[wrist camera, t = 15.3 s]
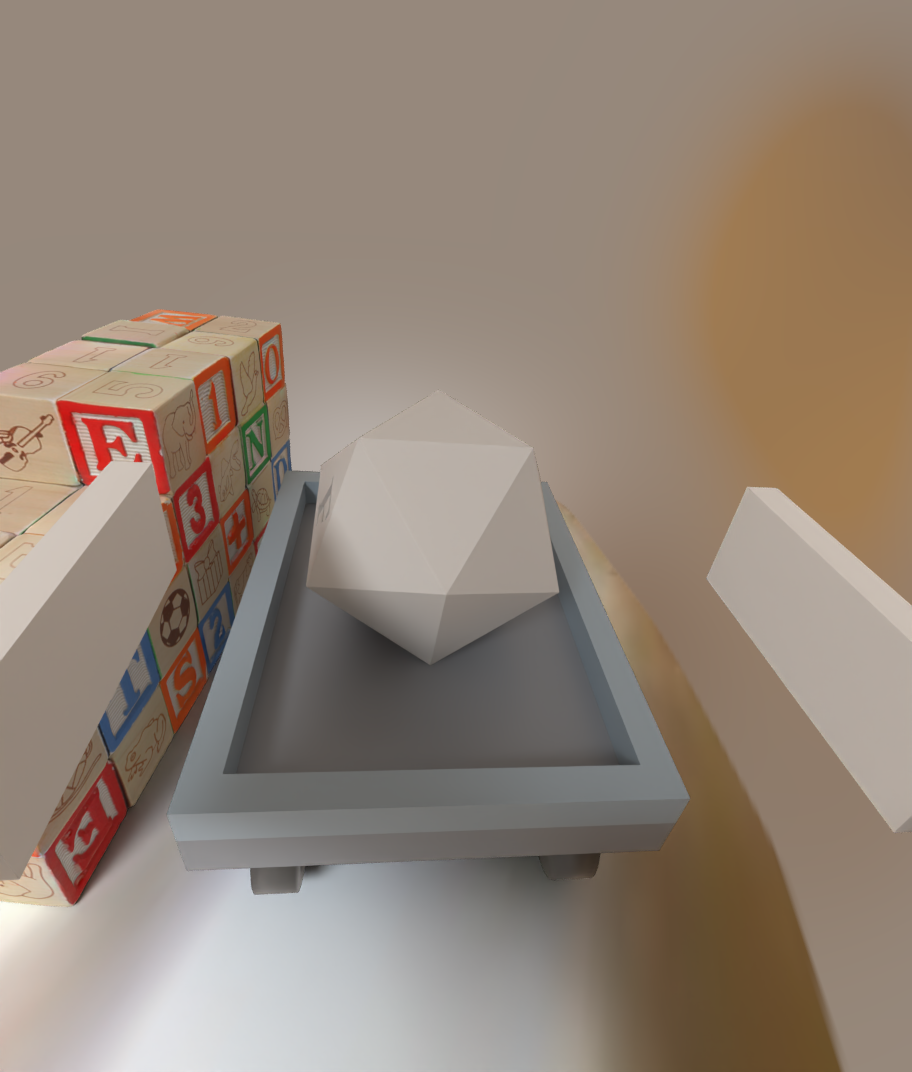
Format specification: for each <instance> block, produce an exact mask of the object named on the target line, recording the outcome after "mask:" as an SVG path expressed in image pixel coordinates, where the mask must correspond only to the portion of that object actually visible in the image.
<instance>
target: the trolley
mask: <svg viewBox="0 0 912 1072" xmlns="http://www.w3.org/2000/svg"><path fill="white" fill-rule="evenodd" d="M319 480H320V472H310V471H289V470H286V472H285V475H284V478H283V481H282V484H281V487H280V490H279V492H278V495H277V498H276V501H275V504H274V507H273V510H272V513H271V515H270V518H269V521H268V524H267V527H266V530H265V533H264V536H263V539H262V541H261V544H260V547H259V550H258V553H257V556H256V559H255V562H254V564H253V567H252V570H251V573H250V576H249V579H248V582H247V585H246V587H245V590H244V593H243V596H242V599H241V602H240V605H239V608H238V610H237V613H236V616H235V619H234V622H233V625H232V628H231V631H230V634H229V636H228V639H227V642H226V645H225V648H224V651H223V654H222V657H221V659H220V662H219V665H218V668H217V671H216V674H215V677H214V680H213V682H212V685H211V688H210V691H209V694H208V697H207V700H206V703H205V706H204V708H203V711H202V714H201V717H200V720H199V723H198V726H197V729H196V731H195V734H194V737H193V740H192V743H191V746H190V749H189V752H188V754H187V757H186V760H185V763H184V766H183V769H182V772H181V775H180V778H179V780H178V783H177V786H176V789H175V792H174V795H173V798H172V801H171V803H170V806H169V809H168V812H167V817H168V820H169V823H170V826H171V828H172V831H173V834H174V837H175V840H176V842H177V845H178V848H179V851H180V853H181V856H182V859H183V862H184V864H185V867H186V870H187V871H195V870H218V869H241V868H250V873H251V886H252V890H253V893H254V894H255V895H259V894H280V893H298V892H299V890H300V888H301V884H302V880H303V875H304V869H305V866H311V865H334V864H357V863H380V862H404V861H427V860H450V859H473V858H496V857H519V856H539V859H540V862H541V865H542V868H543V870H544V872H545V874H546V875H547V877H548V878H549V879H551V880H565V879H585V878H592V877H593V876H594V875H595V873H596V871H597V868H598V865H599V859H600V853H612V852H635V851H658V850H660V848H661V847H662V845H663V843H664V842H665V840H666V838H667V837H668V835H669V833H670V832H671V830H672V828H673V827H674V825H675V823H676V822H677V820H678V818H679V817H680V815H681V813H682V812H683V810H684V808H685V807H686V805H687V803H688V802H689V800H690V797H689V795H688V792H687V790H686V788H685V786H684V783H683V781H682V779H681V777H680V775H679V772H678V770H677V768H676V766H675V764H674V761H673V759H672V757H671V755H670V753H669V750H668V748H667V746H666V744H665V742H664V739H663V737H662V735H661V733H660V730H659V728H658V726H657V724H656V722H655V719H654V717H653V715H652V713H651V711H650V708H649V706H648V704H647V702H646V700H645V697H644V695H643V693H642V691H641V689H640V686H639V684H638V682H637V680H636V677H635V675H634V673H633V671H632V669H631V666H630V664H629V662H628V660H627V658H626V655H625V653H624V651H623V649H622V647H621V644H620V642H619V640H618V638H617V636H616V633H615V631H614V629H613V627H612V624H611V622H610V620H609V618H608V616H607V613H606V611H605V609H604V607H603V605H602V602H601V600H600V598H599V596H598V594H597V591H596V589H595V587H594V585H593V583H592V580H591V578H590V576H589V574H588V571H587V569H586V567H585V565H584V563H583V560H582V558H581V556H580V554H579V552H578V549H577V547H576V545H575V543H574V541H573V538H572V536H571V534H570V532H569V530H568V527H567V525H566V523H565V521H564V518H563V516H562V514H561V512H560V510H559V507H558V505H557V503H556V501H555V499H554V496H553V494H552V492H551V490H550V488H549V485H548V483H547V482H541V486H542V492H543V498H544V504H545V510H546V515H547V521H548V527H549V533H550V539H551V545H552V551H553V557H554V563H555V569H556V575H557V581H558V587H559V593H557V594H555V595H554V596H552V597H550V598H548V599H547V600H545V601H543V602H541V603H540V604H538V605H536V606H534V607H533V608H531V609H529V610H527V611H525V612H524V613H522V614H520V615H518V616H517V617H515V618H513V619H511V620H510V621H508V622H506V623H504V624H503V625H501V626H499V627H497V628H495V629H494V630H492V631H490V632H488V633H487V634H485V635H483V636H481V637H480V638H478V639H476V640H474V641H473V642H471V643H469V644H467V645H465V646H464V647H462V648H460V649H458V650H457V651H455V652H453V653H451V654H450V655H448V656H446V657H444V658H443V659H441V660H439V661H437V662H435V663H434V664H432V665H429V664H427V663H426V662H424V661H423V660H421V659H420V658H418V657H416V656H415V655H413V654H412V653H410V652H409V651H407V650H405V649H404V648H402V647H401V646H399V645H397V644H396V643H394V642H393V641H391V640H390V639H388V638H386V637H385V636H383V635H382V634H380V633H379V632H377V631H375V630H374V629H372V628H371V627H369V626H367V625H366V624H364V623H363V622H361V621H360V620H358V619H356V618H355V617H353V616H352V615H350V614H349V613H347V612H345V611H344V610H342V609H341V608H339V607H338V606H336V605H334V604H333V603H331V602H330V601H328V600H326V599H325V598H323V597H322V596H320V595H319V594H317V593H315V592H314V591H312V590H311V589H309V588H308V587H306V582H307V574H308V566H309V559H310V551H311V543H312V535H313V527H314V519H315V511H316V503H317V495H318V487H319Z"/></svg>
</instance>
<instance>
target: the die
mask: <svg viewBox="0 0 912 1072" xmlns="http://www.w3.org/2000/svg"><path fill="white" fill-rule="evenodd" d="M306 587H308V588H309V589H311V590H312V591H314V592H315V593H317V594H319V595H320V596H322V597H323V598H325V599H326V600H328V601H330V602H331V603H333V604H334V605H336V606H338V607H339V608H341V609H342V610H344V611H345V612H347V613H349V614H350V615H352V616H353V617H355V618H356V619H358V620H360V621H361V622H363V623H364V624H366V625H367V626H369V627H371V628H372V629H374V630H375V631H377V632H379V633H380V634H382V635H383V636H385V637H386V638H388V639H390V640H391V641H393V642H394V643H396V644H397V645H399V646H401V647H402V648H404V649H405V650H407V651H409V652H410V653H412V654H413V655H415V656H416V657H418V658H420V659H421V660H423V661H424V662H426V663H427V664H429V665H432V664H434V663H435V662H437V661H439V660H441V659H443V658H444V657H446V656H448V655H450V654H451V653H453V652H455V651H457V650H458V649H460V648H462V647H464V646H465V645H467V644H469V643H471V642H473V641H474V640H476V639H478V638H480V637H481V636H483V635H485V634H487V633H488V632H490V631H492V630H494V629H495V628H497V627H499V626H501V625H503V624H504V623H506V622H508V621H510V620H511V619H513V618H515V617H517V616H518V615H520V614H522V613H524V612H525V611H527V610H529V609H531V608H533V607H534V606H536V605H538V604H540V603H541V602H543V601H545V600H547V599H548V598H550V597H552V596H554V595H555V594H557V593H559V587H558V581H557V575H556V569H555V563H554V557H553V551H552V545H551V539H550V533H549V527H548V521H547V515H546V510H545V504H544V498H543V492H542V486H541V480H540V474H539V470H538V466H537V461H536V457H535V453H534V449H533V447H531V446H530V445H528V444H526V443H525V442H523V441H522V440H520V439H518V438H517V437H515V436H513V435H512V434H510V433H509V432H507V431H505V430H504V429H502V428H501V427H499V426H497V425H496V424H494V423H492V422H491V421H489V420H487V419H486V418H484V417H483V416H481V415H479V414H478V413H476V412H475V411H473V410H471V409H470V408H468V407H467V406H465V405H463V404H462V403H460V402H458V401H457V400H455V399H454V398H452V397H450V396H449V395H447V394H445V393H444V392H442V391H441V390H437V391H435V392H434V393H432V394H431V395H429V396H427V397H426V398H424V399H422V400H421V401H419V402H417V403H416V404H414V405H412V406H411V407H409V408H408V409H406V410H404V411H402V412H401V413H399V414H397V415H396V416H394V417H392V418H391V419H389V420H388V421H386V422H384V423H382V424H381V425H379V426H378V427H376V428H374V429H373V430H371V431H369V432H367V433H366V434H364V435H362V436H361V437H359V438H358V439H356V440H355V441H354V442H352V443H351V444H350V445H348V446H347V447H345V448H344V449H343V450H341V451H340V452H338V453H337V454H336V455H334V456H333V457H332V458H330V459H329V460H328V461H326V462H325V463H323V464H322V465H321V472H320V480H319V487H318V495H317V503H316V511H315V519H314V527H313V535H312V543H311V551H310V559H309V566H308V574H307V582H306Z"/></svg>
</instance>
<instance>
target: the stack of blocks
mask: <svg viewBox="0 0 912 1072" xmlns="http://www.w3.org/2000/svg"><path fill="white" fill-rule="evenodd" d="M282 346H283V345H282V331H281V325H280V323H276V322H267V321H260V320H252V319H244V318H236V317H229V316H220V317H217V316H215V315H209V314H199V313H189V312H179V311H170V310H154V311H152V312H150V313H147V314H145V315H142V316H140V317H137V318H134V319H132V320H129V321H127V320H119V321H116V322H113V323H111V324H109V325H106V326H104V327H101V328H98V329H96V330H94V331H91V332H88V333H86V334H84V335H82V340H75V341H72V342H69V343H67V344H64V345H62V346H60V347H58V348H55V349H52V350H50V351H48V352H46V353H43V354H41V355H39V356H36V357H34V358H31V359H30V360H29V361H28V363H21V364H19V365H17V366H14V367H12V368H9V369H7V370H4V371H2V372H0V584H1V583H2V582H3V581H4V580H5V579H6V578H7V577H8V575H9V574H10V573H11V572H12V571H13V570H14V569H15V568H16V566H17V565H18V564H19V563H20V562H21V561H22V560H23V559H24V558H25V556H26V555H27V554H28V553H29V552H30V551H31V550H32V549H33V548H34V546H35V545H36V544H37V543H38V542H39V541H40V540H41V539H42V538H43V536H44V535H45V534H46V533H47V532H48V531H49V530H50V529H51V527H52V526H53V525H54V524H55V523H56V522H57V521H58V520H59V519H60V517H61V516H62V515H63V514H64V513H65V512H66V511H67V510H68V509H69V507H70V506H71V505H72V504H73V503H74V502H75V501H76V500H77V499H78V497H79V496H80V495H81V494H82V493H83V492H84V491H85V490H86V488H87V487H88V486H89V485H90V484H91V483H92V482H93V481H94V480H95V478H96V477H97V476H98V475H99V474H100V473H101V472H102V471H103V470H104V468H105V467H106V466H107V465H108V464H109V463H110V462H111V461H119V462H144V463H152V466H153V471H154V475H155V479H156V484H157V488H158V492H159V496H160V501H161V505H162V509H163V513H164V518H165V522H166V526H167V530H168V535H169V539H170V543H171V548H172V552H173V556H174V560H175V565H176V569H177V571H176V573H175V575H174V577H173V578H172V580H171V582H170V584H169V586H168V588H167V590H166V592H165V594H164V596H163V598H162V600H161V602H160V604H159V606H158V608H157V610H156V612H155V614H154V616H153V618H152V620H151V622H150V624H149V626H148V628H147V630H146V632H145V634H144V636H143V638H142V640H141V641H140V643H139V645H138V647H137V649H136V651H135V653H134V655H133V657H132V659H131V661H130V663H129V665H128V667H127V669H126V671H125V673H124V675H123V677H122V679H121V681H120V683H119V685H118V687H117V689H116V691H115V693H114V695H113V697H112V699H111V701H110V703H109V704H108V706H107V708H106V710H105V712H104V714H103V716H102V718H101V720H100V722H99V724H98V726H97V728H96V730H95V732H94V734H93V736H92V738H91V740H90V742H89V744H88V746H87V748H86V750H85V752H84V754H83V756H82V758H81V760H80V762H79V764H78V766H77V767H76V769H75V771H74V773H73V775H72V777H71V779H70V781H69V783H68V785H67V787H66V789H65V791H64V793H63V795H62V797H61V799H60V801H59V803H58V805H57V807H56V809H55V811H54V813H53V815H52V817H51V819H50V821H49V823H48V825H47V827H46V829H45V831H44V832H43V834H42V836H41V838H40V840H39V842H38V844H37V846H36V848H35V850H34V852H33V854H32V856H31V858H30V860H29V862H28V864H27V866H26V868H25V870H24V872H23V874H22V876H21V878H20V880H3V881H0V901H5V902H14V903H24V904H33V905H44V906H62V907H70V906H74V904H75V903H76V901H77V900H78V898H79V897H80V895H81V893H82V891H83V889H84V887H85V886H86V884H87V882H88V880H89V878H90V877H91V875H92V873H93V872H94V870H95V868H96V866H97V864H98V863H99V861H100V859H101V857H102V856H103V854H104V852H105V850H106V849H107V847H108V845H109V843H110V841H111V840H112V838H113V836H114V835H115V833H116V831H117V829H118V827H119V825H120V823H121V822H122V820H123V819H124V817H125V816H126V812H127V809H128V808H130V807H132V806H133V805H134V804H135V803H136V802H137V800H138V798H139V796H140V795H141V793H142V791H143V789H144V788H145V786H146V784H147V783H148V781H149V779H150V778H151V776H152V774H153V772H154V771H155V769H156V767H157V765H158V764H159V762H160V760H161V758H162V757H163V755H164V753H165V752H166V750H167V748H168V746H169V744H170V742H171V741H172V738H173V735H174V734H175V733H176V732H177V731H178V729H179V727H180V726H181V724H182V723H183V721H184V719H185V718H186V716H187V714H188V712H189V711H190V709H191V707H192V706H193V704H194V702H195V701H196V699H197V697H198V696H199V694H200V692H201V690H202V689H203V687H204V685H205V684H206V682H207V680H208V674H209V673H210V672H211V670H212V668H213V667H214V665H215V663H216V661H217V660H218V658H219V656H220V655H221V653H222V651H223V649H224V648H225V645H226V642H227V639H228V636H229V634H230V631H231V628H232V625H233V622H234V619H235V616H236V613H237V610H238V608H239V605H240V602H241V599H242V596H243V593H244V590H245V587H246V585H247V582H248V579H249V576H250V573H251V570H252V567H253V564H254V562H255V559H256V556H257V553H258V550H259V547H260V544H261V541H262V539H263V536H264V533H265V530H266V527H267V524H268V521H269V518H270V515H271V513H272V510H273V507H274V504H275V501H276V498H277V495H278V492H279V490H280V487H281V484H282V481H283V478H284V475H285V472H286V470H289V471H292V469H291V459H290V440H289V435H290V430H289V415H288V400H287V390H286V383H285V382H284V381H285V380H284V379H285V375H284V358H283V347H282Z"/></svg>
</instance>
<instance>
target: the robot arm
mask: <svg viewBox="0 0 912 1072" xmlns="http://www.w3.org/2000/svg"><path fill="white" fill-rule="evenodd" d="M176 571H177V569H176V565H175V560H174V556H173V552H172V548H171V543H170V539H169V535H168V530H167V526H166V522H165V518H164V513H163V509H162V505H161V501H160V496H159V492H158V488H157V484H156V479H155V475H154V471H153V466H152V463H144V462H119V461H111V462H110V463H109V464H108V465H107V466H106V467H105V468H104V470H103V471H102V472H101V473H100V474H99V475H98V476H97V477H96V478H95V480H94V481H93V482H92V483H91V484H90V485H89V486H88V487H87V488H86V490H85V491H84V492H83V493H82V494H81V495H80V496H79V497H78V499H77V500H76V501H75V502H74V503H73V504H72V505H71V506H70V507H69V509H68V510H67V511H66V512H65V513H64V514H63V515H62V516H61V517H60V519H59V520H58V521H57V522H56V523H55V524H54V525H53V526H52V527H51V529H50V530H49V531H48V532H47V533H46V534H45V535H44V536H43V538H42V539H41V540H40V541H39V542H38V543H37V544H36V545H35V546H34V548H33V549H32V550H31V551H30V552H29V553H28V554H27V555H26V556H25V558H24V559H23V560H22V561H21V562H20V563H19V564H18V565H17V566H16V568H15V569H14V570H13V571H12V572H11V573H10V574H9V575H8V577H7V578H6V579H5V580H4V581H3V582H2V583H1V584H0V881H3V880H20V878H21V876H22V874H23V872H24V870H25V868H26V866H27V864H28V862H29V860H30V858H31V856H32V854H33V852H34V850H35V848H36V846H37V844H38V842H39V840H40V838H41V836H42V834H43V832H44V831H45V829H46V827H47V825H48V823H49V821H50V819H51V817H52V815H53V813H54V811H55V809H56V807H57V805H58V803H59V801H60V799H61V797H62V795H63V793H64V791H65V789H66V787H67V785H68V783H69V781H70V779H71V777H72V775H73V773H74V771H75V769H76V767H77V766H78V764H79V762H80V760H81V758H82V756H83V754H84V752H85V750H86V748H87V746H88V744H89V742H90V740H91V738H92V736H93V734H94V732H95V730H96V728H97V726H98V724H99V722H100V720H101V718H102V716H103V714H104V712H105V710H106V708H107V706H108V704H109V703H110V701H111V699H112V697H113V695H114V693H115V691H116V689H117V687H118V685H119V683H120V681H121V679H122V677H123V675H124V673H125V671H126V669H127V667H128V665H129V663H130V661H131V659H132V657H133V655H134V653H135V651H136V649H137V647H138V645H139V643H140V641H141V640H142V638H143V636H144V634H145V632H146V630H147V628H148V626H149V624H150V622H151V620H152V618H153V616H154V614H155V612H156V610H157V608H158V606H159V604H160V602H161V600H162V598H163V596H164V594H165V592H166V590H167V588H168V586H169V584H170V582H171V580H172V578H173V577H174V575H175V573H176ZM706 579H707V580H708V582H709V583H710V584H711V586H712V587H713V589H714V590H715V591H716V593H717V594H718V595H719V597H720V598H721V599H722V601H723V602H724V603H725V605H726V606H727V607H728V609H729V610H730V612H731V613H732V614H733V615H734V617H735V618H736V620H737V621H738V622H739V624H740V625H741V626H742V628H743V629H744V631H745V632H746V633H747V635H748V636H749V637H750V639H751V640H752V641H753V643H754V644H755V645H756V647H757V648H758V649H759V651H760V652H761V654H762V655H763V656H764V658H765V659H766V660H767V662H768V663H769V664H770V666H771V667H772V668H773V670H774V671H775V673H776V674H777V675H778V677H779V678H780V679H781V681H782V682H783V683H784V685H785V686H786V687H787V689H788V690H789V691H790V693H791V694H792V695H793V697H794V698H795V700H796V701H797V702H798V704H799V705H800V706H801V708H802V709H803V710H804V712H805V713H806V715H807V716H808V717H809V719H810V720H811V721H812V723H813V724H814V725H815V727H816V728H817V729H818V731H819V732H820V733H821V735H822V736H823V738H824V739H825V740H826V742H827V743H828V744H829V746H830V747H831V748H832V750H833V751H834V752H835V754H836V755H837V756H838V758H839V759H840V760H841V762H842V763H843V765H844V766H845V767H846V769H847V770H848V771H849V773H850V774H851V775H852V777H853V778H854V780H855V781H856V782H857V784H858V785H859V786H860V788H861V789H862V790H863V792H864V793H865V794H866V796H867V797H868V799H869V800H870V801H871V803H872V804H873V805H874V806H875V808H876V809H877V811H878V812H879V813H880V815H881V816H882V817H883V819H884V820H885V822H886V823H887V824H888V826H889V827H890V828H891V830H892V831H893V832H894V833H900V832H912V605H910V604H909V603H908V602H907V601H906V600H904V599H903V598H902V597H901V596H900V595H899V594H898V593H897V592H895V591H894V590H893V589H892V588H891V587H890V586H889V585H887V584H886V583H885V582H884V581H883V580H882V579H880V578H879V577H878V576H877V575H876V574H875V573H874V572H873V571H871V570H870V569H869V568H868V567H867V566H866V565H864V564H863V563H862V562H861V561H860V560H859V559H858V558H856V557H855V556H854V555H853V554H852V553H851V552H850V551H849V550H847V549H846V548H845V547H844V546H843V545H842V544H840V543H839V542H838V541H837V540H836V539H835V538H834V537H832V536H831V535H830V534H829V533H828V532H827V531H826V530H824V529H823V528H822V527H821V526H820V525H819V524H818V523H816V522H815V521H814V520H813V519H812V518H811V517H809V516H808V515H807V514H806V513H805V512H804V511H802V509H800V508H799V507H798V506H797V505H796V504H794V503H793V502H792V501H791V500H790V499H789V498H788V497H787V496H785V495H784V494H783V493H782V492H781V491H780V490H779V489H777V488H760V487H747V489H746V491H745V493H744V495H743V498H742V500H741V502H740V504H739V507H738V509H737V511H736V513H735V516H734V518H733V520H732V522H731V524H730V526H729V529H728V531H727V533H726V535H725V538H724V540H723V542H722V544H721V546H720V549H719V551H718V553H717V555H716V558H715V560H714V562H713V564H712V567H711V569H710V571H709V573H708V575H707V578H706Z"/></svg>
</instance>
